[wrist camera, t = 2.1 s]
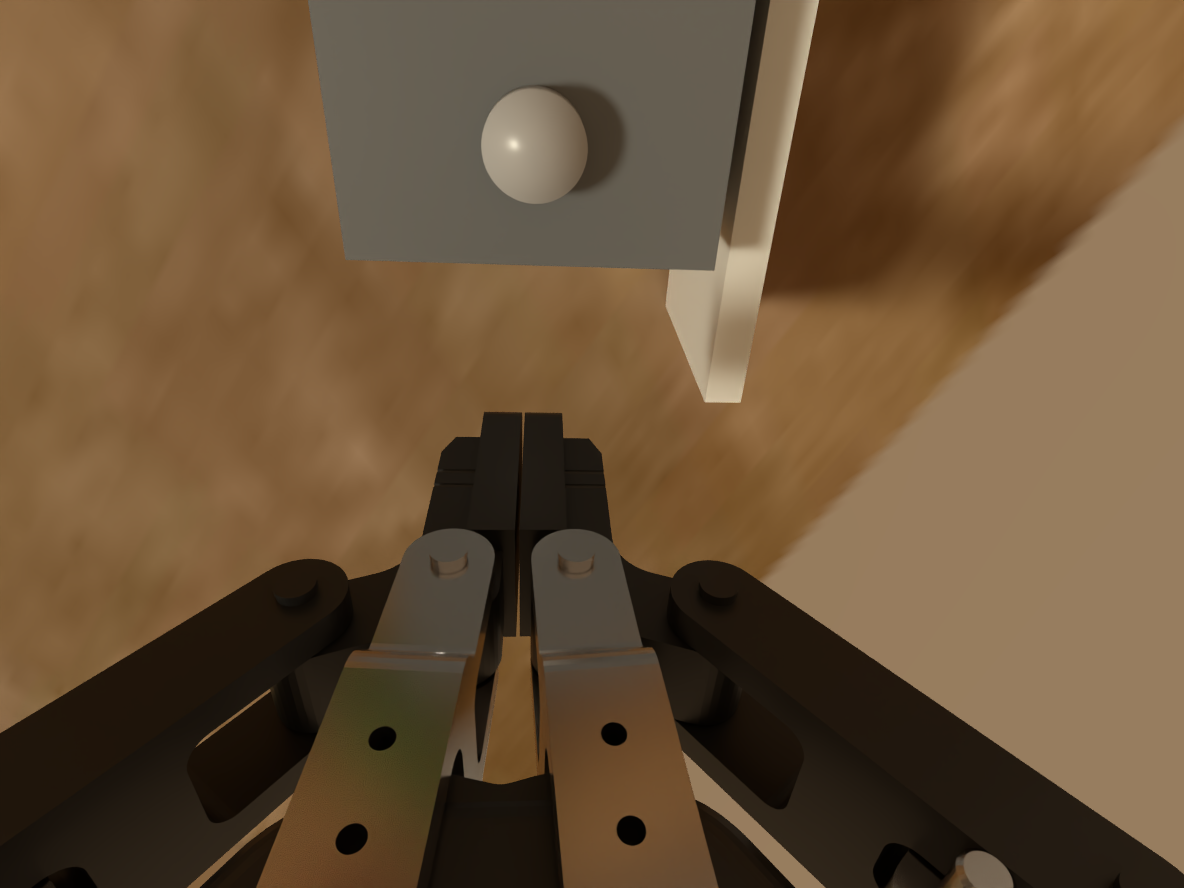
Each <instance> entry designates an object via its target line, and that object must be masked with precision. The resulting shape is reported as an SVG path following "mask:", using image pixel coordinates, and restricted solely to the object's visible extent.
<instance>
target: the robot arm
mask: <svg viewBox="0 0 1184 888" xmlns="http://www.w3.org/2000/svg"><path fill="white" fill-rule="evenodd" d="M603 472H604V470H603V462H602V454H601V453H600V451H599V450H598V449H597V448H596V447H595V445H594V444H593V443H592V442H591V441H590V439H580V438H563V422H562V413H526V412H525V423H524V444H523V464H522V413H518V412H484V416H483V423H482V430H481V436H480V437H456V438H455V439H454V440H453V441H452V442H451V443H450V444H449V445H448V446H447V447H446V448H445V449H444V450H443V451H442V452H441V457H440V461H439V465H438V473H437V474H436V478H435V483H434V487H433V491H432V496H431V500H430V504H429V509H428V513H427V517H426V522H425V526H424V531H423V535H422V537H420V538H418V539H417V540H415V541H414V542H413V543H412V544H411V545H410V546H409V547H408V548H407V550H406V551H405V553H404V556H403V558H402V561H401V563H400V564H399V565H397V566H395V567H393V568H391V569H388V570H386V571H383V572H380V573H376V574H372V575H368V576H364V577H359V578H355V579H351V580H348V578H347V576H346V574H345V572H344V571H343V570H342V569H341V568H340V567H339V566H337V565H335V564H333V563H331V562H328V561H325V560H319V559H302V560H296V561H291V562H288V563H284V564H282V565H279V566H277V567H275V568H273V569H271V570H269V571H267V572H265V573H264V574H262V575H260V576H259V577H257V578H256V579H254V580H252V581H251V582H249V583H247V584H246V585H244V586H242V587H241V588H239V589H237V590H236V591H234V592H232V593H231V594H229V595H227V596H226V597H224V598H223V599H221V600H219V601H218V602H216V603H214V604H213V605H211V606H209V607H208V608H206V609H204V610H203V611H201V612H199V613H198V614H196V615H195V616H193V617H191V618H190V619H188V620H186V621H185V622H183V623H181V624H180V625H178V626H176V627H175V628H173V629H171V630H170V631H168V632H167V633H165V634H163V635H162V636H160V637H158V638H157V639H155V640H153V641H152V642H150V643H148V644H147V645H145V646H143V647H142V648H140V649H138V650H137V651H135V652H134V653H132V654H130V655H129V656H127V657H125V658H124V659H122V660H120V661H119V662H117V663H115V664H114V665H112V666H110V667H109V668H107V669H106V670H104V671H102V672H101V673H99V674H97V675H96V676H94V677H92V678H91V679H89V680H87V681H86V682H84V683H82V684H81V685H79V686H77V687H76V688H74V689H73V690H71V691H69V692H68V693H66V694H64V695H63V696H61V697H59V698H58V699H56V700H54V701H53V702H51V703H49V704H48V705H46V706H45V707H43V708H41V709H40V710H38V711H36V712H35V713H33V714H31V715H30V716H28V717H26V718H25V719H23V720H21V721H20V722H18V723H16V724H15V725H13V726H12V727H10V728H8V729H7V730H5V731H3V732H2V733H0V888H187V887H188V886H189V885H190V884H191V883H192V882H193V881H195V880H196V879H197V878H198V877H199V876H200V875H201V874H203V873H204V872H205V871H206V870H207V869H208V868H209V867H210V866H212V865H213V864H214V863H215V862H216V861H217V860H218V859H219V858H221V857H222V856H223V855H224V854H225V853H226V852H227V851H229V850H230V849H231V848H232V847H233V846H234V845H235V844H236V843H238V842H239V841H240V840H241V839H242V838H243V837H244V836H245V835H247V834H248V833H249V832H250V831H251V830H252V829H253V828H255V827H256V826H257V825H258V824H259V823H260V822H261V821H262V820H264V819H265V818H266V817H267V816H268V815H269V814H270V813H271V812H273V811H274V810H275V809H276V808H277V807H278V806H279V805H280V804H282V803H283V802H284V801H285V800H286V799H287V798H288V797H290V796H291V795H292V794H293V793H294V794H293V796H292V799H291V801H290V804H289V806H288V809H287V811H286V814H285V816H284V818H282V819H281V820H279V821H278V822H276V823H274V824H273V825H271V826H270V827H268V828H266V829H265V830H264V831H263V832H261V833H260V834H259V835H257V836H256V837H255V838H253V839H252V840H251V841H250V842H248V843H247V844H246V845H245V846H244V847H243V848H241V849H240V850H239V851H238V852H237V853H236V854H235V855H234V856H233V857H232V858H231V859H230V860H228V861H227V862H226V864H224V865H223V866H222V867H221V868H220V869H219V870H218V871H217V872H216V873H215V874H214V875H213V876H211V877H210V878H209V879H208V880H207V881H206V882H205V883H204V884H203V885H202V886H201V887H200V888H795V887H794V886H793V885H792V884H791V883H790V882H789V881H788V880H787V879H786V878H785V877H784V876H783V874H782V873H781V872H780V871H779V870H778V869H777V868H776V867H775V866H774V865H773V864H772V863H771V862H770V861H769V860H768V859H767V858H766V857H765V856H764V855H763V854H762V853H761V852H760V850H759V849H758V848H757V847H756V846H755V845H754V844H753V843H752V842H751V841H750V840H749V839H748V838H747V837H746V836H745V835H744V834H743V833H742V832H741V831H740V830H739V829H738V828H736V827H735V826H734V825H733V824H731V823H730V822H729V821H728V820H727V819H725V818H724V817H723V816H722V815H720V814H719V813H717V812H716V811H714V810H713V809H711V808H710V807H708V806H706V805H705V804H703V803H701V802H699V801H697V800H695V797H694V794H693V790H692V786H691V782H690V778H689V775H688V771H687V768H686V763H685V759H684V756H683V752H684V753H685V754H687V756H688V757H690V758H691V759H692V760H693V761H694V762H695V763H696V764H697V765H698V766H699V767H700V768H701V769H702V770H703V771H704V772H705V773H706V774H707V775H708V776H709V777H710V778H712V779H713V780H714V781H715V782H716V783H717V784H718V785H719V786H720V787H721V788H722V789H723V790H724V791H725V792H726V793H727V794H728V795H730V796H731V798H732V799H734V800H735V801H736V802H737V803H738V804H739V805H740V806H741V807H742V808H743V809H744V810H745V811H746V812H747V813H748V814H749V815H750V816H752V818H754V820H756V821H757V822H758V823H759V824H760V825H761V826H762V827H763V828H764V829H765V830H766V831H767V832H768V833H769V834H770V835H771V836H772V837H773V838H774V839H776V841H777V842H779V843H780V844H781V845H782V846H783V847H784V848H785V849H786V850H787V851H788V852H789V853H790V854H791V855H792V856H793V857H794V858H795V859H796V860H797V861H798V862H799V863H801V864H802V865H803V866H804V867H805V868H806V869H807V870H808V871H809V872H810V873H811V874H812V875H813V876H814V877H815V878H816V879H817V880H818V881H819V882H820V883H821V884H823V885H824V886H825V887H826V888H1184V874H1183V873H1181V872H1180V871H1179V870H1178V869H1177V868H1176V867H1174V866H1173V865H1172V864H1170V863H1169V862H1167V861H1166V860H1165V859H1164V858H1162V857H1161V856H1159V855H1158V854H1156V853H1155V852H1153V851H1152V850H1150V849H1149V848H1147V847H1146V846H1144V845H1143V844H1142V843H1140V842H1139V841H1137V840H1136V839H1134V838H1133V837H1131V836H1130V835H1129V834H1127V833H1126V832H1124V831H1123V830H1121V829H1120V828H1118V827H1117V826H1115V825H1114V824H1113V823H1111V822H1110V821H1108V820H1107V819H1105V818H1104V817H1102V816H1101V815H1099V814H1098V813H1096V812H1095V811H1094V810H1092V809H1091V808H1089V807H1088V806H1086V805H1085V804H1083V803H1082V802H1080V801H1079V800H1078V799H1076V798H1075V797H1073V796H1072V795H1070V794H1069V793H1067V792H1066V791H1064V790H1063V789H1062V788H1060V787H1058V786H1057V785H1056V784H1054V783H1053V782H1051V781H1050V780H1048V779H1047V778H1046V777H1044V776H1042V775H1041V774H1040V773H1038V772H1037V771H1035V770H1034V769H1032V768H1031V767H1030V766H1028V765H1026V764H1025V763H1024V762H1022V761H1020V760H1019V759H1018V758H1016V757H1015V756H1013V755H1012V754H1010V753H1009V752H1008V751H1006V750H1005V749H1003V748H1002V747H1000V746H999V745H997V744H996V743H994V742H993V741H992V740H990V739H989V738H987V737H986V736H984V735H983V734H981V733H980V732H979V731H977V730H976V729H974V728H973V727H971V726H970V725H968V724H967V723H965V722H964V721H962V720H961V719H959V718H958V717H956V716H955V715H954V714H952V713H951V712H949V711H948V710H946V709H945V708H944V707H942V706H941V705H939V704H938V703H936V702H935V701H933V700H932V699H930V698H929V697H928V696H926V695H925V694H923V693H922V692H920V691H919V690H917V689H916V688H914V687H913V686H912V685H910V684H909V683H907V682H906V681H904V680H903V679H901V678H900V677H898V676H897V675H895V674H894V673H892V672H891V671H890V670H888V669H886V668H885V667H884V666H882V665H881V664H880V663H878V662H877V661H875V660H874V659H872V658H871V657H869V656H868V655H866V654H865V653H864V652H862V651H861V650H859V649H858V648H856V647H855V646H853V645H852V644H850V643H849V642H847V641H846V640H845V639H843V638H842V637H840V636H839V635H837V634H836V633H834V632H833V631H831V630H830V629H829V628H827V627H825V626H824V625H823V624H821V623H820V622H818V621H817V620H815V619H814V618H813V617H811V616H810V615H808V614H807V613H805V612H804V611H802V610H801V609H799V608H798V607H797V606H795V605H794V604H792V603H791V602H789V601H788V600H786V599H785V598H783V597H782V596H780V595H779V594H778V593H776V592H775V591H773V590H772V589H770V588H769V587H767V586H766V585H764V584H763V583H762V582H760V581H759V580H757V579H756V578H754V577H753V576H751V575H750V574H748V573H747V572H745V571H744V570H742V569H740V568H738V567H736V566H734V565H731V564H728V563H725V562H720V561H711V560H706V561H697V562H693V563H690V564H687V565H685V566H683V567H682V568H681V569H679V570H678V571H677V572H676V574H675V575H674V577H673V578H670V577H666V576H662V575H658V574H654V573H651V572H647V571H644V570H642V569H639V568H637V567H635V566H634V565H632V564H630V563H629V562H628V561H626V560H625V559H624V558H623V557H622V556H621V555H620V554H619V551H618V549H617V548H616V546H615V545H614V544H613V540H612V534H611V526H610V518H609V510H608V502H607V494H606V488H605V478H604V474H603ZM519 560H520V636H531V693H532V707H533V722H534V736H535V750H536V764H537V776H534V777H530V778H527V779H523V780H520V781H516V782H512V783H508V784H492V783H487V782H483V781H482V778H483V771H484V765H485V758H486V752H487V746H488V740H489V733H490V727H491V721H492V715H493V708H494V702H495V696H496V690H497V684H498V674H499V673H498V666H499V664H500V661H501V657H502V645H503V637H516V625H517V603H518V581H519ZM268 689H270V690H271V692H269V693H268V694H267V695H265V696H264V697H263V698H261V699H260V700H259V701H257V702H256V703H255V704H253V705H252V706H251V707H249V708H248V709H247V710H245V711H244V712H243V713H241V714H240V715H238V716H237V717H236V718H234V719H233V720H232V721H230V722H229V723H228V724H226V725H225V726H224V727H222V728H221V729H220V730H218V731H217V732H216V733H214V734H213V735H212V736H210V737H209V738H208V739H206V740H205V741H204V742H202V743H201V744H200V745H198V743H199V742H200V741H201V740H202V739H203V738H204V737H205V736H207V735H208V734H209V733H210V732H212V731H213V730H214V729H216V728H217V727H218V726H220V725H221V724H222V723H224V722H225V721H227V720H228V719H229V718H231V717H232V716H233V715H235V714H236V713H237V712H239V711H240V710H241V709H243V708H244V707H245V706H247V705H248V704H249V703H251V702H252V701H253V700H255V699H256V698H258V697H259V696H260V695H262V694H263V693H264V692H266V691H267V690H268ZM197 745H198V746H197ZM196 746H197V747H196ZM195 747H196V748H195ZM682 751H683V752H682Z"/></svg>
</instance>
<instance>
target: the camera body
mask: <svg viewBox="0 0 1184 888" xmlns="http://www.w3.org/2000/svg"><path fill="white" fill-rule="evenodd" d="M308 3H309V10H310V17H311V24H312V31H313V38H314V45H315V52H316V59H317V66H318V72H319V79H320V86H321V93H322V100H323V107H324V114H325V121H326V128H327V135H328V142H329V148H330V155H331V162H332V169H333V176H334V183H335V190H336V197H337V204H338V211H339V218H340V224H341V231H342V238H343V245H344V252H345V259H346V260H372V261H405V262H438V263H472V264H505V265H538V266H572V267H605V268H638V269H671V270H705V271H714V270H715V264H716V257H717V251H718V244H719V238H720V231H721V225H722V218H723V212H724V205H725V199H726V192H727V185H728V179H729V172H730V166H731V159H732V153H733V146H734V140H735V133H736V127H737V120H738V114H739V107H740V101H741V94H742V88H743V81H744V75H745V68H746V62H747V55H748V49H749V42H750V36H751V29H752V23H753V16H754V10H755V3H756V0H308Z"/></svg>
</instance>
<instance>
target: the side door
mask: <svg viewBox="0 0 1184 888" xmlns="http://www.w3.org/2000/svg"><path fill="white" fill-rule="evenodd" d="M818 3H819V0H756V3H755V10H754V16H753V23H752V29H751V36H750V42H749V49H748V55H747V62H746V68H745V75H744V81H743V88H742V94H741V101H740V107H739V114H738V120H737V127H736V133H735V140H734V146H733V153H732V159H731V166H730V172H729V179H728V185H727V192H726V199H725V205H724V212H723V218H722V225H721V231H720V238H719V244H718V251H717V257H716V264H715V270H714V271H705V270H671V269H670V271H669V280H668V288H667V297H666V308H667V311H668V313H669V316H670V318H671V321H672V323H673V325H674V328H675V330H676V333H677V335H678V338H679V340H680V343H681V345H682V347H683V350H684V352H685V355H686V357H687V360H688V362H689V365H690V367H691V369H692V372H693V374H694V377H695V379H696V382H697V384H698V387H699V389H700V391H701V394H702V396H703V399H704V401H705V402H734V403H740V402H741V397H742V392H743V387H744V382H745V377H746V372H747V366H748V361H749V356H750V351H751V346H752V341H753V336H754V331H755V326H756V320H757V315H758V310H759V305H760V300H761V295H762V290H763V285H764V280H765V274H766V269H767V264H768V259H769V254H770V249H771V244H772V239H773V234H774V228H775V223H776V218H777V213H778V208H779V203H780V198H781V193H782V187H783V182H784V177H785V172H786V167H787V162H788V157H789V152H790V147H791V141H792V136H793V131H794V126H795V121H796V116H797V111H798V106H799V101H800V95H801V90H802V85H803V80H804V75H805V70H806V65H807V60H808V55H809V49H810V44H811V39H812V34H813V29H814V24H815V19H816V14H817V9H818Z"/></svg>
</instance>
